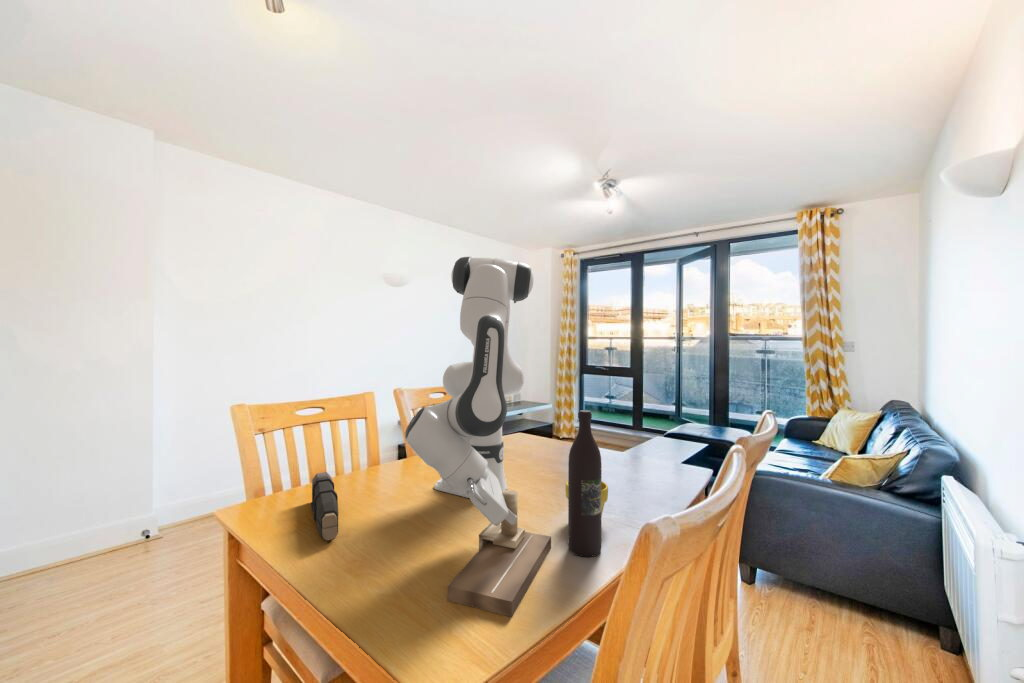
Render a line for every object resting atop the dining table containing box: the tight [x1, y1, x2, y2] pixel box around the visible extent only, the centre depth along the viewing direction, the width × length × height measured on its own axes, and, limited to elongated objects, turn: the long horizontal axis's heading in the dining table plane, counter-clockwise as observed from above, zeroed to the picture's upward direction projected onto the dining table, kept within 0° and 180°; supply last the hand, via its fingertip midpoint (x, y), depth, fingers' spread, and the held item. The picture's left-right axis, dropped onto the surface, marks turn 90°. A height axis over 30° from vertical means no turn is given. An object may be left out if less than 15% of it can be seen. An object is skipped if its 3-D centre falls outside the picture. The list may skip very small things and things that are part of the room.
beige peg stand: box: [478, 489, 526, 551], centre depth 87 cm, size 8×6×12 cm
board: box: [446, 531, 552, 618], centre depth 79 cm, size 12×24×3 cm, turn 159°
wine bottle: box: [567, 409, 602, 558], centre depth 88 cm, size 7×7×30 cm
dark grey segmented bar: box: [310, 471, 339, 541], centre depth 102 cm, size 11×7×30 cm
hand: (513, 515), depth 87 cm, fingers closed on beige peg stand, 3 cm apart
